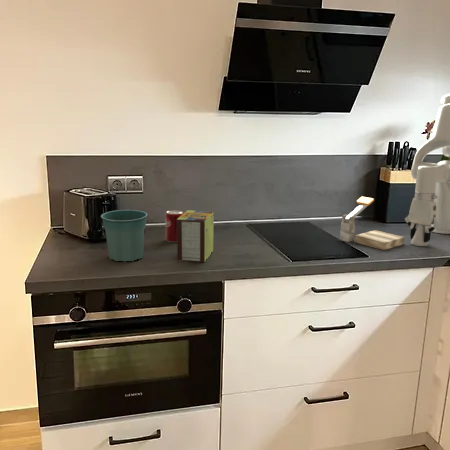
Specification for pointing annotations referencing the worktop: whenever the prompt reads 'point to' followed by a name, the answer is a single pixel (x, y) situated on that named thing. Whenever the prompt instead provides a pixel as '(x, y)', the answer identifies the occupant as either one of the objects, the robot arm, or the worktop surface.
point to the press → (368, 236)
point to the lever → (360, 206)
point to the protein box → (195, 235)
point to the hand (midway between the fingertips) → (419, 239)
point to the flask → (419, 236)
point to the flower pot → (125, 234)
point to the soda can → (172, 225)
